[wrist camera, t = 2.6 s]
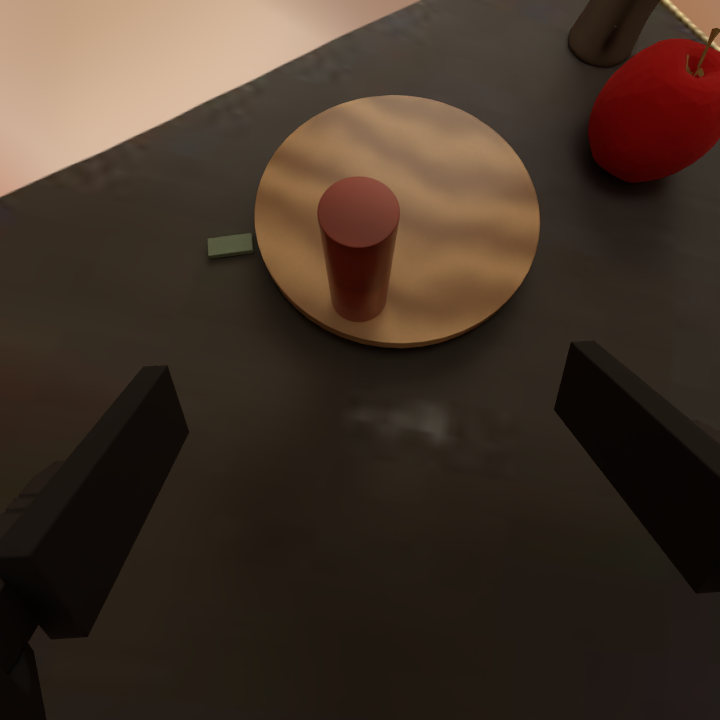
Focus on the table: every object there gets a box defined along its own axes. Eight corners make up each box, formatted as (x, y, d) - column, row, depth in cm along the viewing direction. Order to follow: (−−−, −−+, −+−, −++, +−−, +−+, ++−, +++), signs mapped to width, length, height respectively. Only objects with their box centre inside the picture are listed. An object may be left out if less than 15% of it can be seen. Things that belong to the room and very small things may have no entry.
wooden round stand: (322, 77, 36) (307, -92, 25) (563, 153, 34) (659, 4, 23) (209, 287, 30) (127, 188, 20) (487, 392, 28) (566, 346, 18)
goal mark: (253, 236, 33) (251, 232, 33) (254, 253, 33) (253, 250, 32) (209, 241, 33) (207, 238, 32) (210, 259, 32) (208, 255, 32)
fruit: (692, 147, 35) (816, 27, 26) (648, 219, 34) (765, 119, 24) (597, 99, 37) (683, -33, 27) (550, 165, 35) (624, 50, 25)
